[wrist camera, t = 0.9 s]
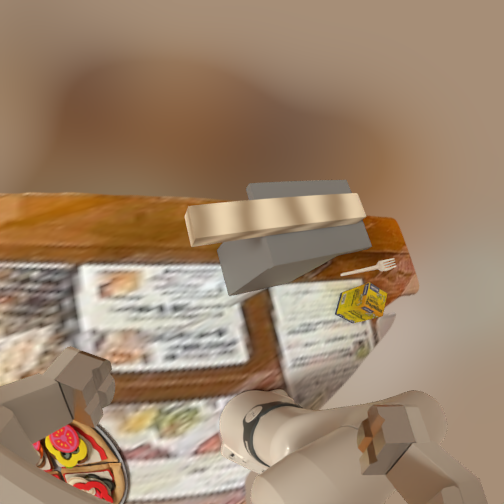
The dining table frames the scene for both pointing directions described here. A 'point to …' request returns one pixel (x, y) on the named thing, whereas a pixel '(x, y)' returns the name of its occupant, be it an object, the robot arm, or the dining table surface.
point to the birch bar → (270, 217)
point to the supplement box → (361, 303)
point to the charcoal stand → (287, 242)
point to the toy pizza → (84, 461)
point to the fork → (373, 267)
